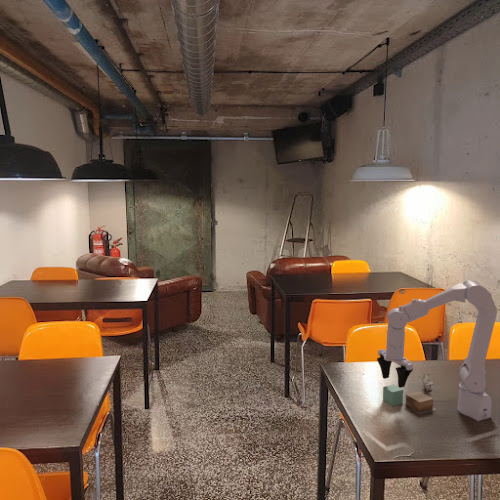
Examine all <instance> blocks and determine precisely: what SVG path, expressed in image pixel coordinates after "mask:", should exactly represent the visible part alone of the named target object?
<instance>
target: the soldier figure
mask: <svg viewBox="0 0 500 500" xmlns="http://www.w3.org/2000/svg"><path fill="white" fill-rule="evenodd" d="M429 376H430V373H427V371H425V372H424V373H423V375H422V377H421V380H422V383H423V386H422V387H423V388H424V389H425V390H426V391H427V392H429V391H433V390H434V389H433V385H434V381H435V379H434V378H433V379H431V380H434V381H429ZM432 384H433V385H432Z"/></svg>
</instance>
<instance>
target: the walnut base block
mask: <svg viewBox="0 0 500 500" xmlns="http://www.w3.org/2000/svg"><path fill="white" fill-rule="evenodd" d="M405 402H406V405H408V406H410V407H411V408H413V409H414V410H416V411H418V412H422V411H426V410H430V409H433V406H434V398H432V397H431V396H429V395H427V394H425V393H423V392H421V391H415V392H411V393H407V394H405Z"/></svg>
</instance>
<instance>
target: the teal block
mask: <svg viewBox="0 0 500 500" xmlns="http://www.w3.org/2000/svg"><path fill="white" fill-rule="evenodd" d="M382 401H383V402H384V403H386V404H388V406H389V405H390V406H391V407H394V406H399V405H403V403H404V402H403V401H404V389H403V388H399V387H398V385H395V384H391V385H386V386H382Z"/></svg>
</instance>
